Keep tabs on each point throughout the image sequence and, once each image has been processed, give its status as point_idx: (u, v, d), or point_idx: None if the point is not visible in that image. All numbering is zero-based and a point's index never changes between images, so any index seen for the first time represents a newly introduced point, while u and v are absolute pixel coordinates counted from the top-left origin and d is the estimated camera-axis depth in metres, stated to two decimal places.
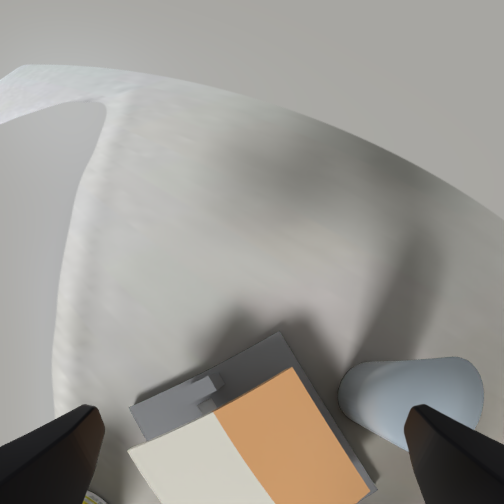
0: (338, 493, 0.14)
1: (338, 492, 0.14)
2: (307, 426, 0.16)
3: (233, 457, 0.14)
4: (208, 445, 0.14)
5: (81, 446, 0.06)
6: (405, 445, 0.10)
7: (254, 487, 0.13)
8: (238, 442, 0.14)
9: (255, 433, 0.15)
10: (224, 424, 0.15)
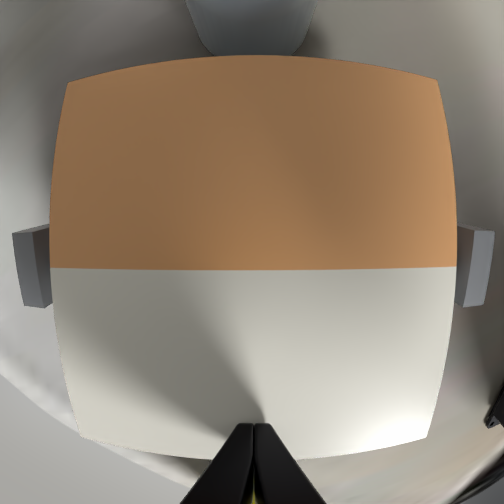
0: (398, 128, 0.07)
1: (395, 126, 0.07)
2: (181, 95, 0.07)
3: (145, 287, 0.07)
4: (100, 317, 0.07)
5: (253, 471, 0.06)
6: None
7: (244, 288, 0.07)
8: (119, 256, 0.07)
9: (120, 210, 0.07)
10: (75, 261, 0.07)
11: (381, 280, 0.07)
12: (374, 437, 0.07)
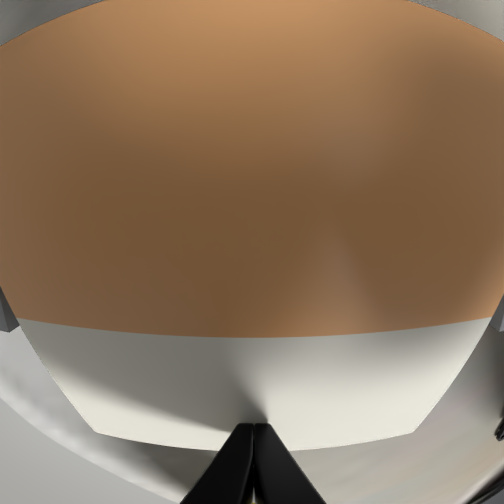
0: (492, 149, 0.03)
1: (489, 145, 0.03)
2: (113, 77, 0.03)
3: (125, 346, 0.05)
4: (85, 364, 0.06)
5: (253, 471, 0.06)
6: None
7: (243, 353, 0.05)
8: (85, 317, 0.05)
9: (68, 268, 0.05)
10: (39, 316, 0.05)
11: (408, 339, 0.05)
12: (365, 436, 0.08)
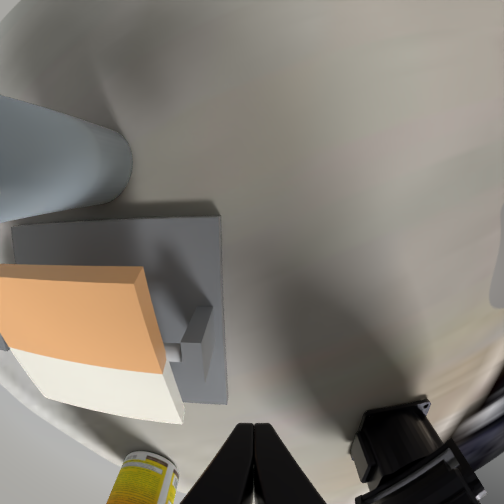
0: (108, 319, 0.12)
1: (106, 318, 0.12)
2: (16, 297, 0.11)
3: (42, 359, 0.14)
4: (33, 364, 0.14)
5: (253, 471, 0.06)
6: None
7: (71, 365, 0.14)
8: (29, 349, 0.13)
9: (21, 336, 0.13)
10: (16, 347, 0.13)
11: (120, 372, 0.14)
12: (150, 417, 0.16)
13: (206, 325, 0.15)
